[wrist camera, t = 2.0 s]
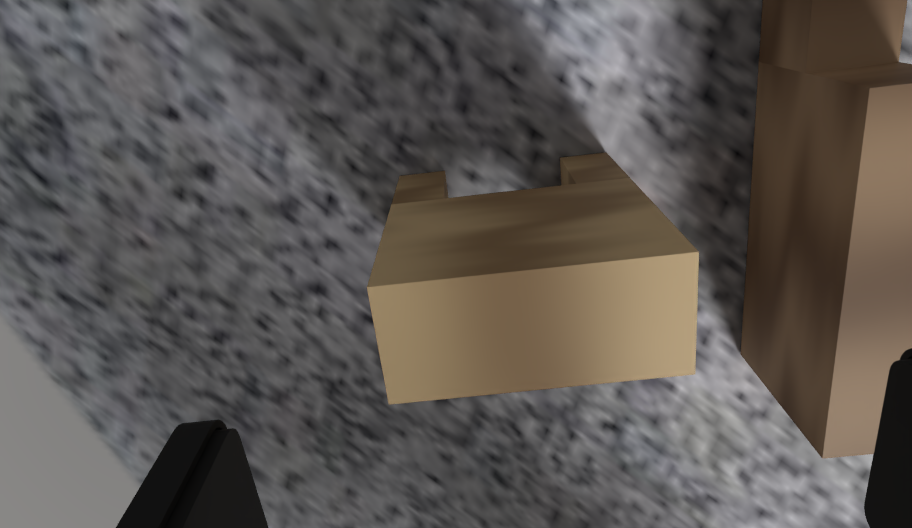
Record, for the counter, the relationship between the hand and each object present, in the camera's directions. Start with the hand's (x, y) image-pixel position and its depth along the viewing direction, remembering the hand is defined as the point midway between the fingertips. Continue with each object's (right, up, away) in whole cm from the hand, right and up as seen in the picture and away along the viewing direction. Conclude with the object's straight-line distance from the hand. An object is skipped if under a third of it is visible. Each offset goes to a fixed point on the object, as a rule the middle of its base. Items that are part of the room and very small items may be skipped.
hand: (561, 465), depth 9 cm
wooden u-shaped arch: (0, +5, +13) cm, 14 cm away
